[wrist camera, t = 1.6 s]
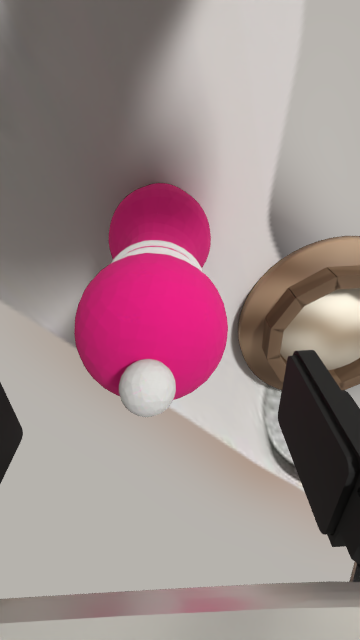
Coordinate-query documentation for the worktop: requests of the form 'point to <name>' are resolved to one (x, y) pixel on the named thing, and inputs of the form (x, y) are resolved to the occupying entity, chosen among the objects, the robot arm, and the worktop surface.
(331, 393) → the robot arm
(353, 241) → the round tray
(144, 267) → the pepper mill
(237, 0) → the worktop surface
